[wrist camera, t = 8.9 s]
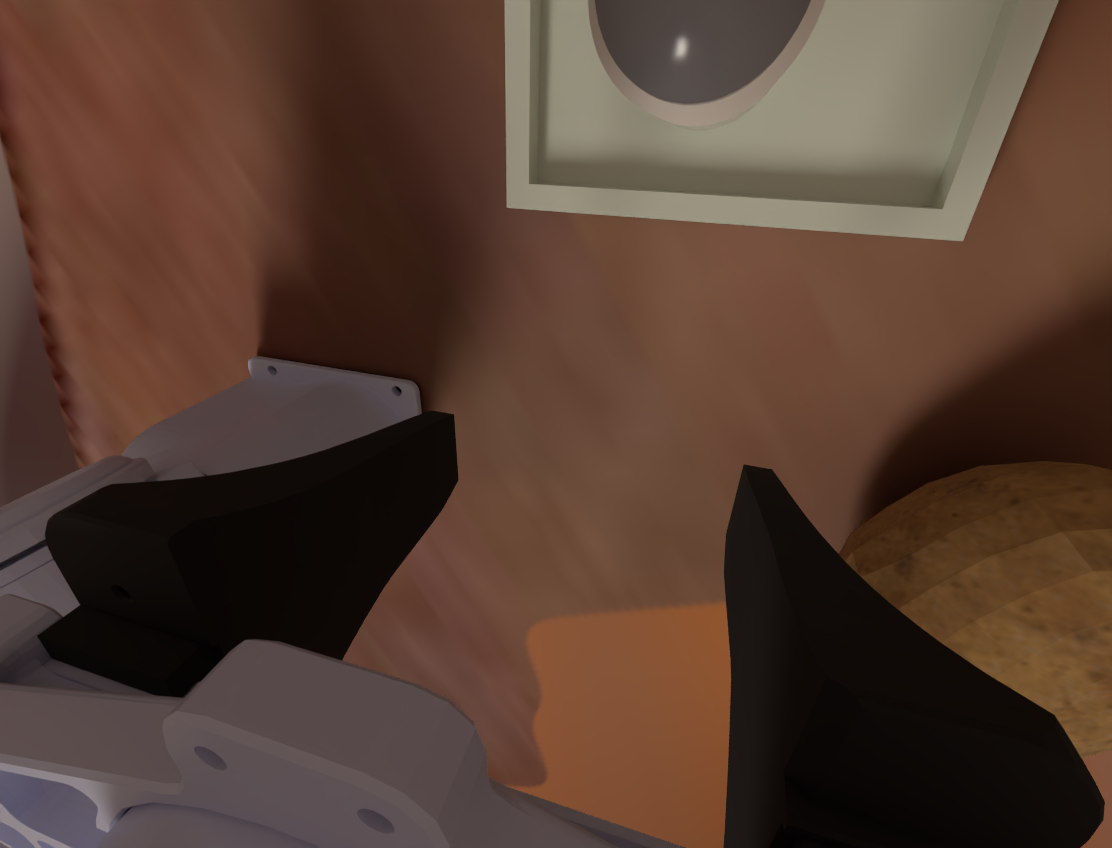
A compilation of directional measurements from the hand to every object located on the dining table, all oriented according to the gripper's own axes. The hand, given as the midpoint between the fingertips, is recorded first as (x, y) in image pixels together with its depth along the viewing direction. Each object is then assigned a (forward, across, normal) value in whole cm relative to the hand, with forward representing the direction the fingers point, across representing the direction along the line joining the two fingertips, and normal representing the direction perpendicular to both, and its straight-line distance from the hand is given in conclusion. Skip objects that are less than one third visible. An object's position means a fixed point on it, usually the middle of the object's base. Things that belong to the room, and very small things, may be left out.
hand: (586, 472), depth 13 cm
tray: (+9, -2, -10) cm, 14 cm away
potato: (+10, -13, +7) cm, 18 cm away
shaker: (+9, -1, -10) cm, 13 cm away
